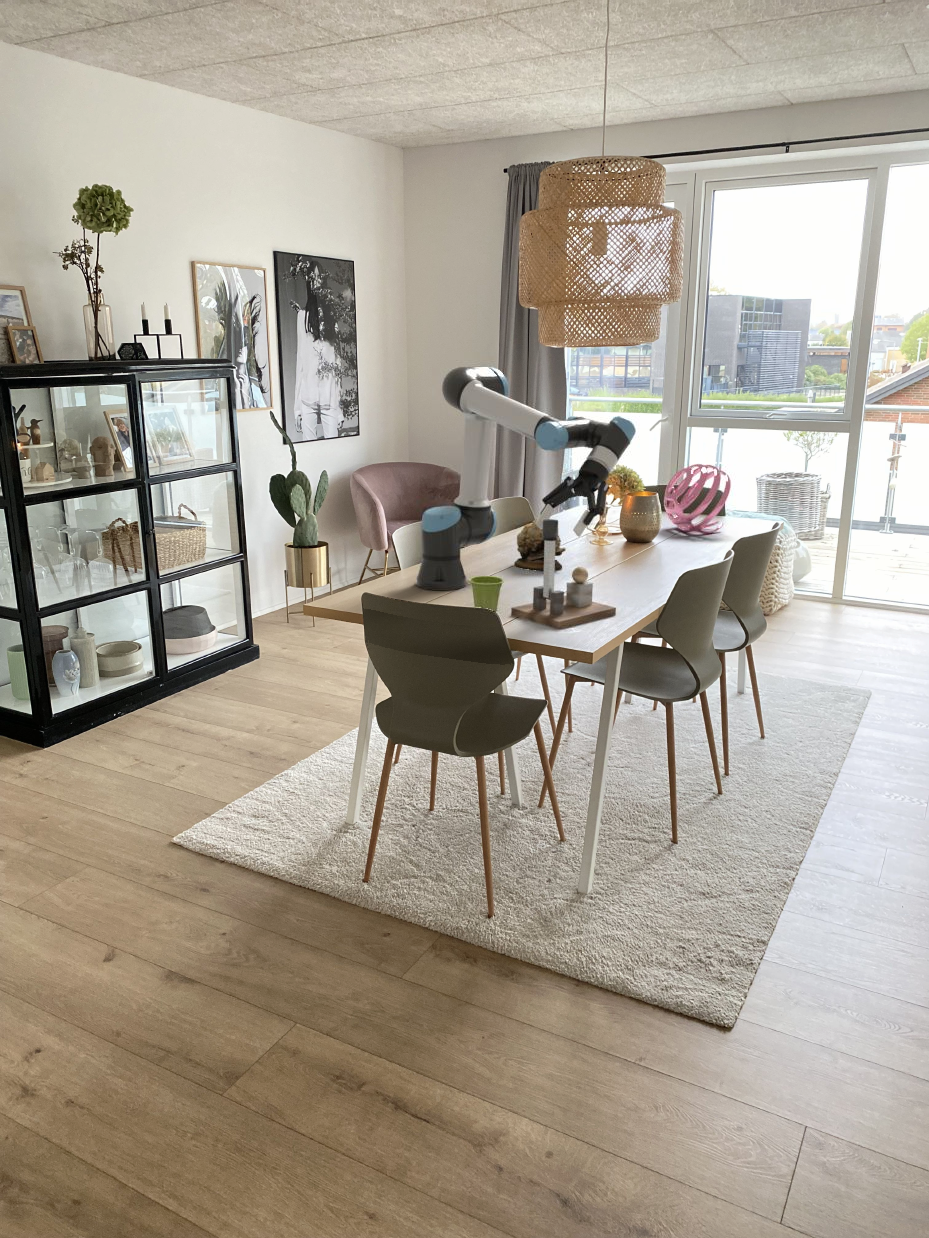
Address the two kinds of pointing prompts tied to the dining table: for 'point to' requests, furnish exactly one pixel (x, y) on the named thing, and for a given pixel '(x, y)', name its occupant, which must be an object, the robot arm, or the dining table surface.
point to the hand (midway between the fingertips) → (556, 529)
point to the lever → (549, 555)
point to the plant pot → (486, 591)
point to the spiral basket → (691, 495)
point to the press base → (564, 607)
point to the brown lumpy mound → (534, 548)
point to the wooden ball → (579, 574)
